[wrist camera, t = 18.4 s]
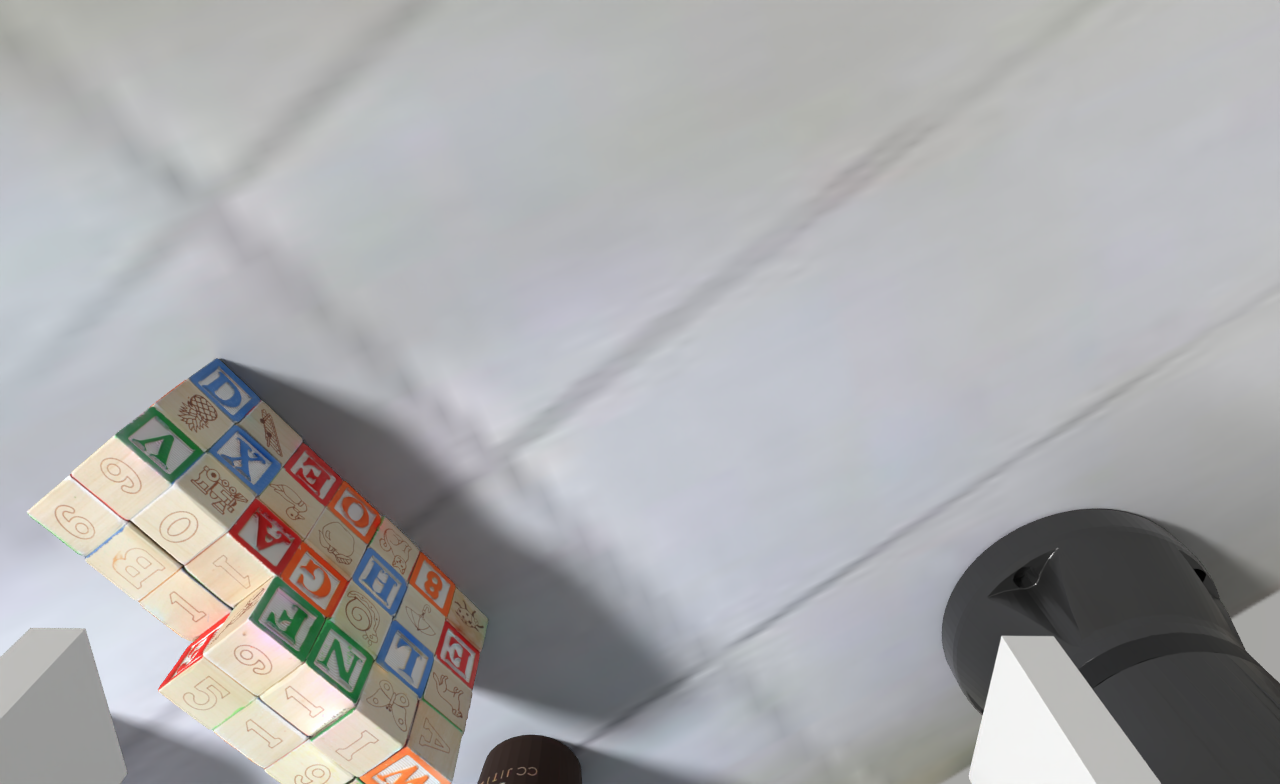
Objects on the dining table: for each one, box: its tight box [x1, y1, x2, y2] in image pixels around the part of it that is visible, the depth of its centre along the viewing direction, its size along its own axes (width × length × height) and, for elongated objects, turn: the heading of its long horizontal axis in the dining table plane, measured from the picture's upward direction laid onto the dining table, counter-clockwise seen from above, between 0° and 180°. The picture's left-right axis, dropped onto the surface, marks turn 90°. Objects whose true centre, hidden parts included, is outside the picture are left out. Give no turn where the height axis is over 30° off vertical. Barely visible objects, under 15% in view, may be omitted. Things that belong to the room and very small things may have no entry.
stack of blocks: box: [27, 358, 488, 784], centre depth 41 cm, size 21×6×12 cm, turn 37°
